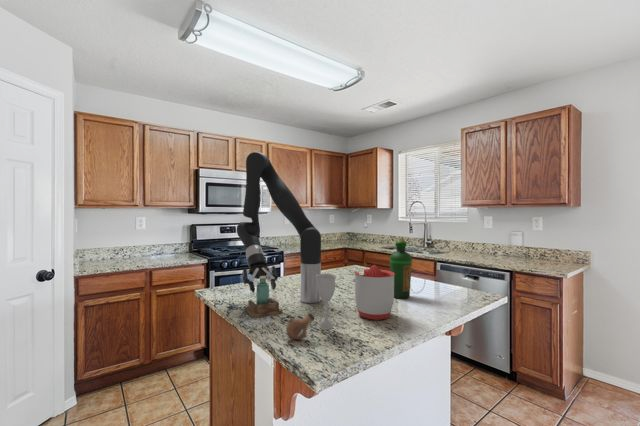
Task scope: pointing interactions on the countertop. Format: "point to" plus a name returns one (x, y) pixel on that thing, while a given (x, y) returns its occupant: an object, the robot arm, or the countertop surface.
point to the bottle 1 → (262, 291)
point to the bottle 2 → (401, 270)
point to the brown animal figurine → (298, 327)
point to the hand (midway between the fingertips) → (264, 290)
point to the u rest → (263, 308)
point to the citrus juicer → (374, 293)
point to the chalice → (326, 295)
